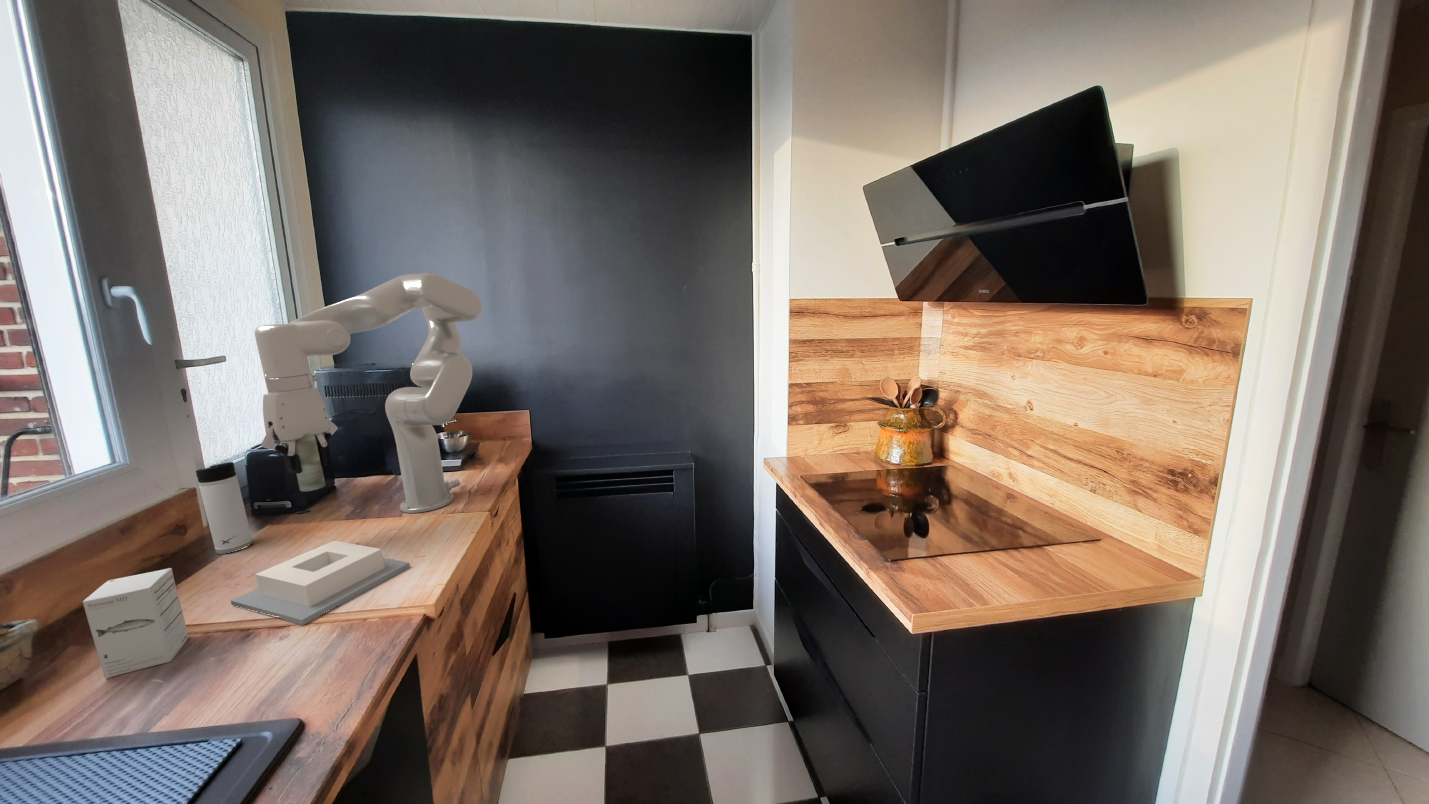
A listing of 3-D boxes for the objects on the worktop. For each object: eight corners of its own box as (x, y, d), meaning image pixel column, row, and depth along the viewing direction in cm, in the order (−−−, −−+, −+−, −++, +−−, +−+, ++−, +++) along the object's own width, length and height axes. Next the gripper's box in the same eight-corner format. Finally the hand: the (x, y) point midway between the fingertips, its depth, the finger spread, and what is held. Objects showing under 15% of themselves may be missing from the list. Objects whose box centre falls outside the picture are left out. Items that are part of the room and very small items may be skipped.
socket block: (343, 554, 113) (339, 532, 112) (410, 567, 106) (405, 544, 105) (231, 605, 95) (225, 580, 94) (302, 625, 87) (296, 598, 86)
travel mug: (232, 555, 115) (210, 468, 111) (208, 553, 117) (186, 468, 113) (261, 542, 121) (241, 459, 117) (238, 541, 123) (218, 459, 119)
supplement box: (103, 681, 76) (78, 602, 74) (129, 652, 83) (107, 578, 80) (171, 663, 79) (149, 587, 77) (191, 636, 86) (172, 565, 83)
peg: (317, 483, 115) (305, 430, 113) (330, 484, 114) (318, 431, 111) (295, 490, 111) (282, 435, 109) (308, 492, 110) (296, 436, 107)
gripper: (321, 377, 117) (337, 456, 121) (230, 391, 102) (252, 481, 105) (343, 377, 114) (359, 458, 118) (253, 392, 99) (275, 484, 103)
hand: (308, 468), depth 112 cm, fingers closed on peg, 4 cm apart
